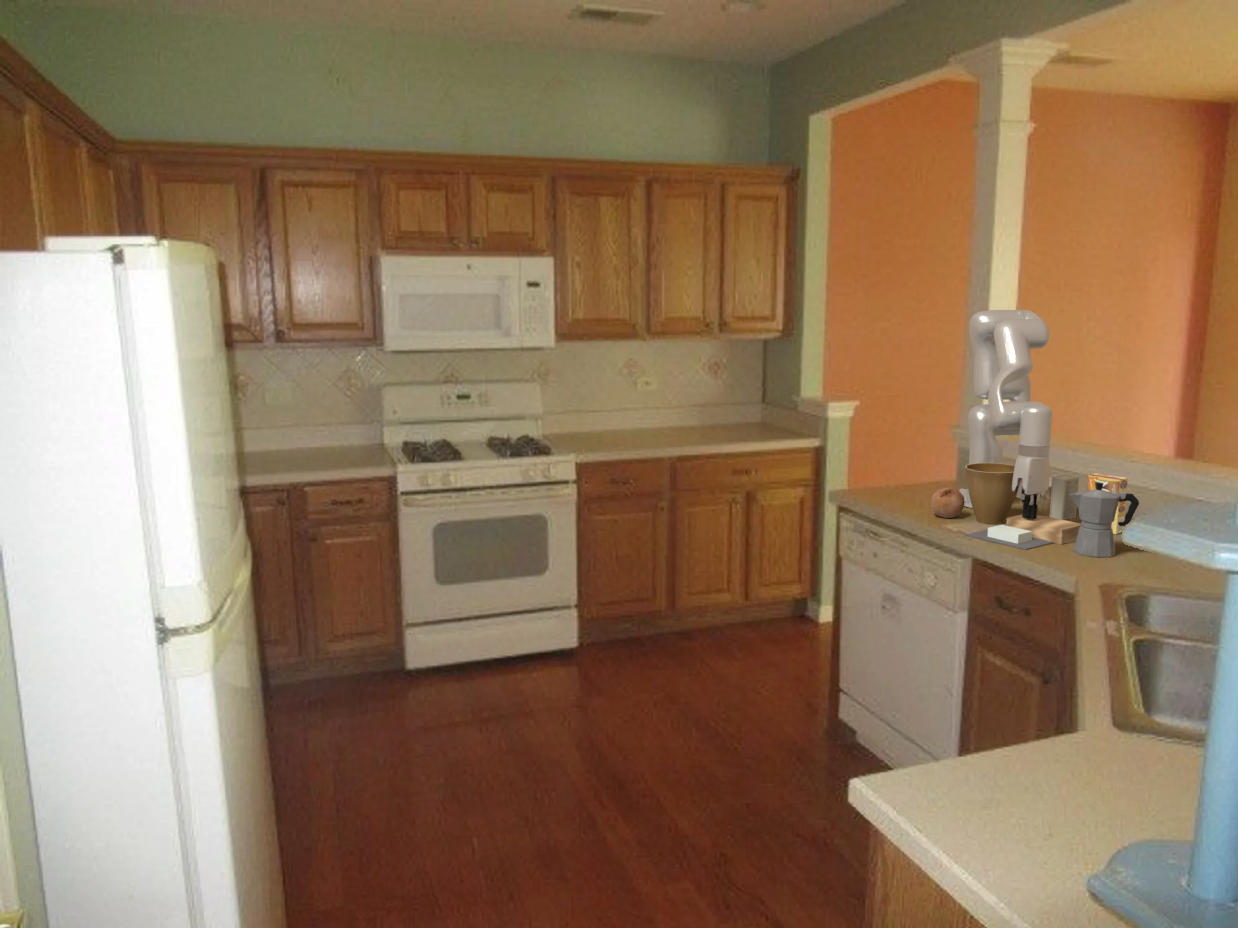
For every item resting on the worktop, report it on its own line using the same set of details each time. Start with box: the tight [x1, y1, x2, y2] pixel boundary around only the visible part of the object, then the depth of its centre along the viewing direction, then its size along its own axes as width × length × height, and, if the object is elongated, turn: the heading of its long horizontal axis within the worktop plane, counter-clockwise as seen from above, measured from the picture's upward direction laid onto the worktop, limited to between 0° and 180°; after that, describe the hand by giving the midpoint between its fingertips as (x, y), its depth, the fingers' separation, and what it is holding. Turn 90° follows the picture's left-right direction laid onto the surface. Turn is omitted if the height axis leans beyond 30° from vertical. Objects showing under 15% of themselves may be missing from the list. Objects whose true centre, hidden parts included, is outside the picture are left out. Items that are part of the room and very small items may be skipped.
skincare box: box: [1049, 474, 1080, 521], centre depth 257 cm, size 6×4×12 cm
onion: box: [930, 487, 965, 519], centre depth 261 cm, size 10×9×10 cm
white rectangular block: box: [987, 524, 1032, 544], centre depth 235 cm, size 9×6×2 cm, turn 32°
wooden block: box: [1005, 514, 1081, 546], centre depth 238 cm, size 16×10×4 cm, turn 32°
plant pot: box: [964, 462, 1017, 525], centre depth 254 cm, size 15×15×16 cm
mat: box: [965, 528, 1055, 551], centre depth 236 cm, size 18×12×1 cm, turn 32°
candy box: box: [1086, 472, 1128, 535], centre depth 242 cm, size 9×4×15 cm, turn 33°
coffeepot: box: [1069, 482, 1140, 559], centre depth 220 cm, size 15×9×18 cm, turn 69°
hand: (1029, 518), depth 239 cm, fingers closed
